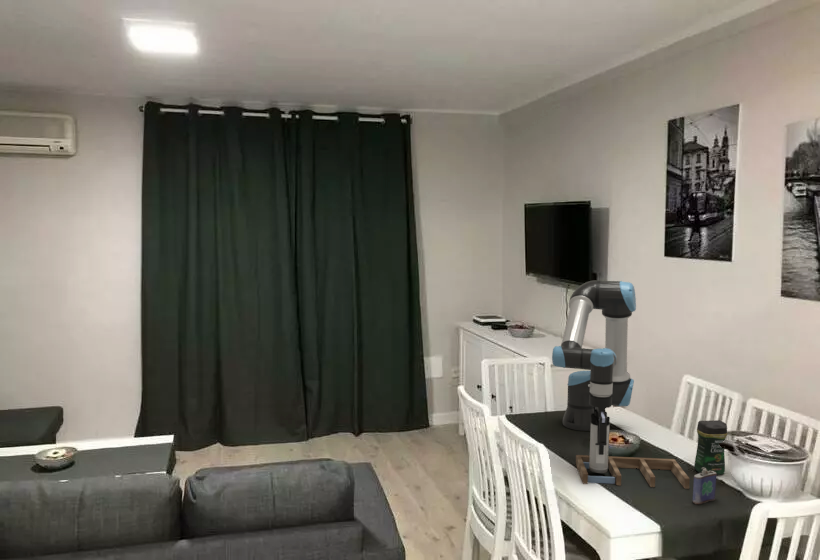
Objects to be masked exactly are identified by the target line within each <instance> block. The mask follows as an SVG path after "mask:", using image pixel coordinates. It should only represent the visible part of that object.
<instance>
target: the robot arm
mask: <svg viewBox="0 0 820 560" xmlns="http://www.w3.org/2000/svg"><path fill="white" fill-rule="evenodd" d="M569 297H570V298H569V300H568V308H569V312H568V315H567V320H566V324H565V328H564V331H563V334H562V335H563V336H562V339H561V345H558V346H557V345H556V346H554V347H553V349H552V355H551V360H552V364H553V366H554V367H558V368H563V369H576V370H579V371H574V372H572V373H570V374H569V375H568V378H567V400H566V401H567V403H566V404H567V406H566V409H565V412H564V414H563V417H562V425H563V427H565V428H567V429H571V430H575V431H582V432H583V431H584V432H585V431H586V432H587V431H591V414H593V413H594V415H595V416H596V417H598V418H599V423H598V422H597V420H596V424H597V425H598V427H597V443H595V445H597V447H596V463H604V462H605V445H607V443H606V442H607V419H608V418H607V416H608V412H607V411H606V409H607V408H611V407H612V406H616V407H629V406H630V404H631V398H632V394H633V389H634V382H635V380H634V379H633V378H631V373H630V372H629V371H627V370H628V369H627V368H628V330H629V329H628V327H629V325H628V323H629V320H628V319H629V318H631V317H632V315H633V313H634V312H636V309H637V302H636V301H637V298H636V290H635V286H634V284H633V283H632V282H629V281H622V280H617V281H615V280H590V281H586V282H585V283H583V284H581V285H579V286H578V287H577V288H575V290H574V291H573V293H571V296H569ZM593 310H600V311H601V315H602V316H603V317H604V318H605V333H604V334H605V341H604V343H605V345H604V348H603V347H602V348H583V344H584V339H585V335H586V329H587V326H588V320H589V317H590V314H591V313H592V311H593Z"/></svg>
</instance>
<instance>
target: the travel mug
mask: <svg viewBox="0 0 820 560" xmlns="http://www.w3.org/2000/svg"><path fill="white" fill-rule="evenodd" d="M607 418H608V419H607V442H606V443H607V445H605V462H604V463H596V447H597V445H595V443H597V427H598V425H597V424H596V420H597V422H598V423H599V418H598V417H596V416H595V415H594V413H593V414H591V430H590V433H589V434H590V436H589V439H590V441H589V456H590V460H589V464H590V465H589V469H588V470H589V471H591V472H592V473H595V474H605V473H607V472H608V471H609V469H608V456H609V452H610V451H609V450H610V449H609V447H610V446H609V445H610V420H611V419H610V418H611V417H610V416H608V415H607Z"/></svg>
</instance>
